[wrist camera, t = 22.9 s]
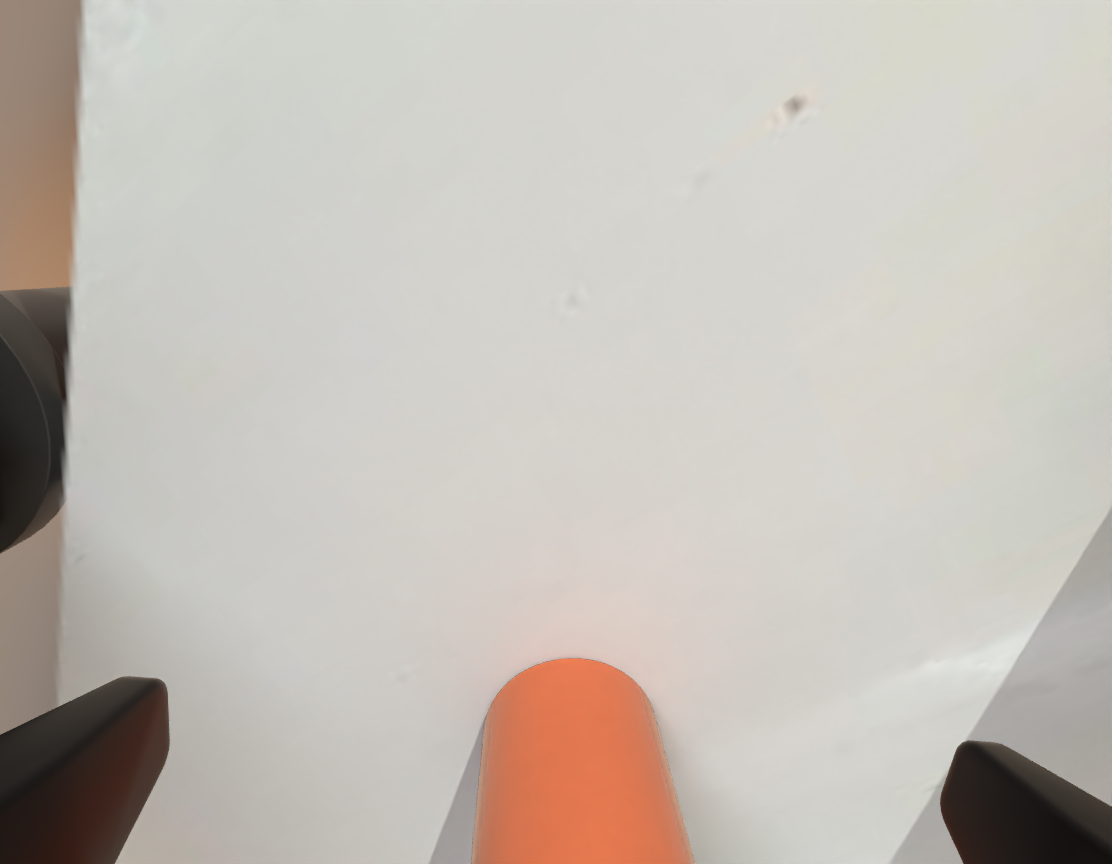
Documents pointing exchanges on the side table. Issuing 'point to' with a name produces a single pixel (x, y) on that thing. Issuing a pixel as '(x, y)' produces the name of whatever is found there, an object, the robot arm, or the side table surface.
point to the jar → (575, 773)
